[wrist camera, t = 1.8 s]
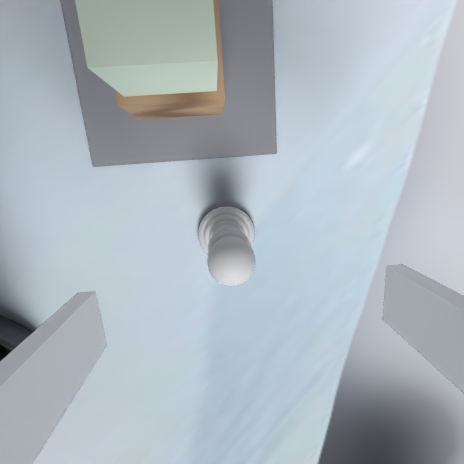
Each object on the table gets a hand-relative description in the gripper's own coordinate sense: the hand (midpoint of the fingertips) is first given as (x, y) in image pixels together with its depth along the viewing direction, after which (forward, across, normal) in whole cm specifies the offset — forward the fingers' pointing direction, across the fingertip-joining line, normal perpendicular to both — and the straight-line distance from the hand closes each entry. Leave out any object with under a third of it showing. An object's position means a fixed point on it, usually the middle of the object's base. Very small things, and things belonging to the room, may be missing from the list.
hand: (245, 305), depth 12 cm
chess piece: (+14, 0, 0) cm, 14 cm away
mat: (+14, -3, +14) cm, 20 cm away
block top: (+8, -3, +14) cm, 17 cm away
